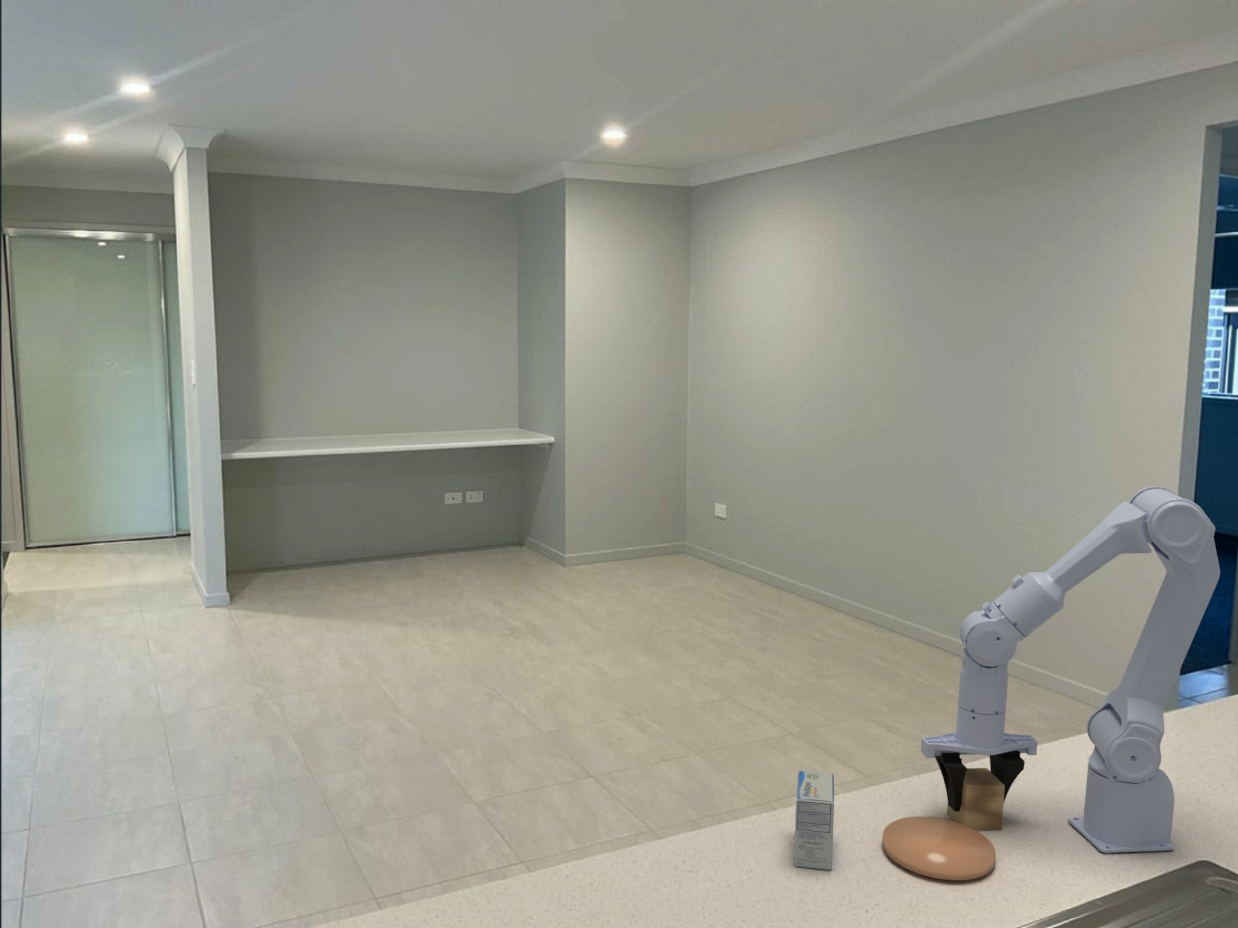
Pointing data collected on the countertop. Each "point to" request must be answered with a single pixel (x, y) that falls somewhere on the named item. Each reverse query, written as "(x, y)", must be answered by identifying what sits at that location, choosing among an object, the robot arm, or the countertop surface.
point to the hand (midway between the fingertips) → (974, 806)
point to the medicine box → (814, 820)
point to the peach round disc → (939, 848)
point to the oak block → (980, 801)
